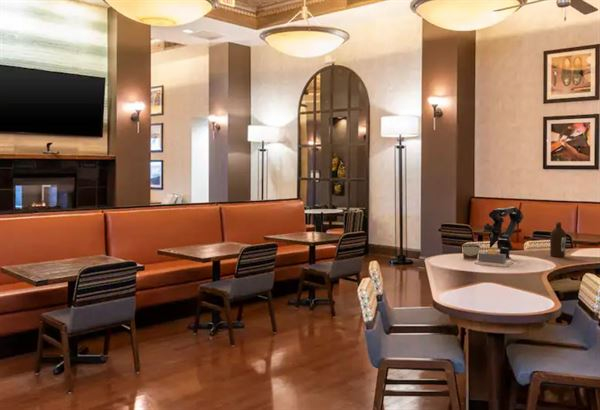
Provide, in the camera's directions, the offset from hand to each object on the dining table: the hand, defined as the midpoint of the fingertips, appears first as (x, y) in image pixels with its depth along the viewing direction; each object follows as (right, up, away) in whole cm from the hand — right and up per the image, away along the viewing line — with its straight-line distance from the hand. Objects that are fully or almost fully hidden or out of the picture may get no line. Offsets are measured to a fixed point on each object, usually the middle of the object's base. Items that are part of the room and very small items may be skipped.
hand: (491, 245), depth 382 cm
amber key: (-4, -5, -13) cm, 15 cm away
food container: (-11, -10, +12) cm, 19 cm away
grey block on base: (-1, -11, -9) cm, 14 cm away
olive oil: (+56, -10, +25) cm, 62 cm away
